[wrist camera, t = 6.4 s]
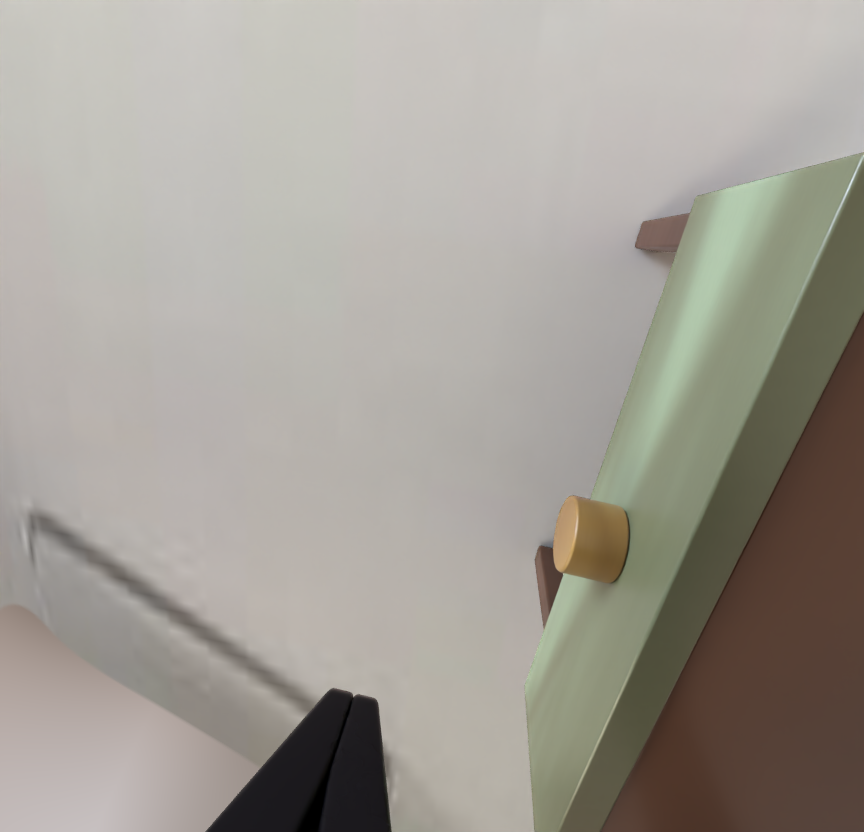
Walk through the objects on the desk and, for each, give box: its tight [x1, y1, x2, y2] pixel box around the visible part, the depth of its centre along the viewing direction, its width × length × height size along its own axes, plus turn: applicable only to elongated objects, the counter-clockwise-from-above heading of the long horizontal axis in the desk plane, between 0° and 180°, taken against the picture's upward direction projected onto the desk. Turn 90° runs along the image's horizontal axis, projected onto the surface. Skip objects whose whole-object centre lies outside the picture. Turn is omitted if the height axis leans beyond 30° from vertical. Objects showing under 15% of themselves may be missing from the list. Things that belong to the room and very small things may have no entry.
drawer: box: [525, 152, 864, 832], centre depth 9 cm, size 11×13×4 cm
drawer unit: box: [535, 213, 864, 832], centre depth 12 cm, size 10×13×10 cm
